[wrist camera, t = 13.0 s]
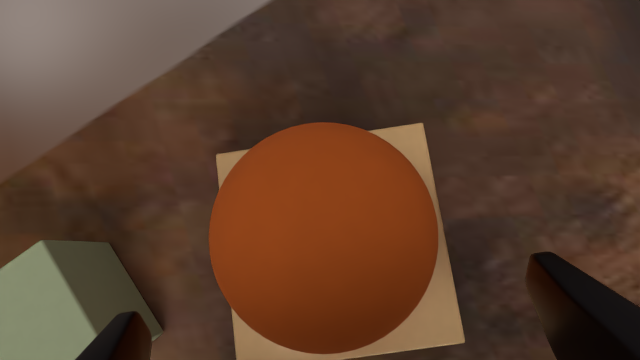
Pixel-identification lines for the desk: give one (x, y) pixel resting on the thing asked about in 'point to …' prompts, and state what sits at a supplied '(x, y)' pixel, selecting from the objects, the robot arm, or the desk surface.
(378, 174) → the hat
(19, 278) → the sage box
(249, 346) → the stand
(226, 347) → the desk surface
